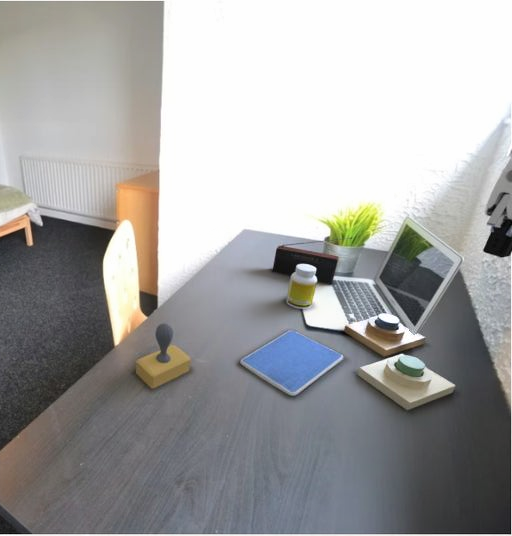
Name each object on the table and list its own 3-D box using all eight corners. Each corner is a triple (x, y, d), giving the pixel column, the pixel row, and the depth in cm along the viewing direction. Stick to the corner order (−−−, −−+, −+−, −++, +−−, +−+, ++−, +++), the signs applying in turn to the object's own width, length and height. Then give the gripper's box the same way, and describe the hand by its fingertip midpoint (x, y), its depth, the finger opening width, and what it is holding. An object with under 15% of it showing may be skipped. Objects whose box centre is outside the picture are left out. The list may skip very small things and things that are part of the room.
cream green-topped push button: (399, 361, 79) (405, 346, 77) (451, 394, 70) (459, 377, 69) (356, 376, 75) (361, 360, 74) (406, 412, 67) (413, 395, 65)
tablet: (290, 332, 89) (291, 327, 89) (344, 360, 80) (346, 355, 79) (237, 364, 79) (238, 359, 79) (293, 400, 70) (294, 395, 69)
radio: (271, 273, 117) (279, 228, 111) (274, 269, 120) (282, 225, 113) (338, 288, 108) (351, 240, 101) (340, 284, 110) (352, 236, 103)
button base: (380, 322, 92) (384, 308, 90) (422, 345, 83) (428, 330, 82) (343, 332, 89) (347, 318, 87) (383, 358, 80) (388, 343, 78)
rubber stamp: (172, 356, 82) (174, 310, 77) (190, 371, 78) (194, 323, 73) (135, 373, 78) (135, 325, 73) (151, 390, 73) (153, 340, 68)
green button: (405, 361, 74) (408, 353, 73) (426, 374, 70) (430, 365, 69) (390, 366, 72) (393, 357, 72) (411, 379, 69) (415, 371, 68)
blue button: (384, 319, 87) (386, 311, 86) (401, 328, 83) (404, 321, 82) (371, 323, 86) (373, 315, 85) (388, 332, 82) (391, 324, 81)
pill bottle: (315, 310, 98) (324, 272, 93) (291, 310, 98) (299, 273, 93) (304, 298, 103) (312, 262, 98) (282, 298, 103) (289, 262, 99)
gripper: (546, 155, 54) (494, 269, 62) (604, 147, 58) (548, 255, 66) (485, 148, 60) (444, 253, 68) (541, 142, 64) (497, 241, 72)
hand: (495, 254), depth 67 cm, fingers closed
